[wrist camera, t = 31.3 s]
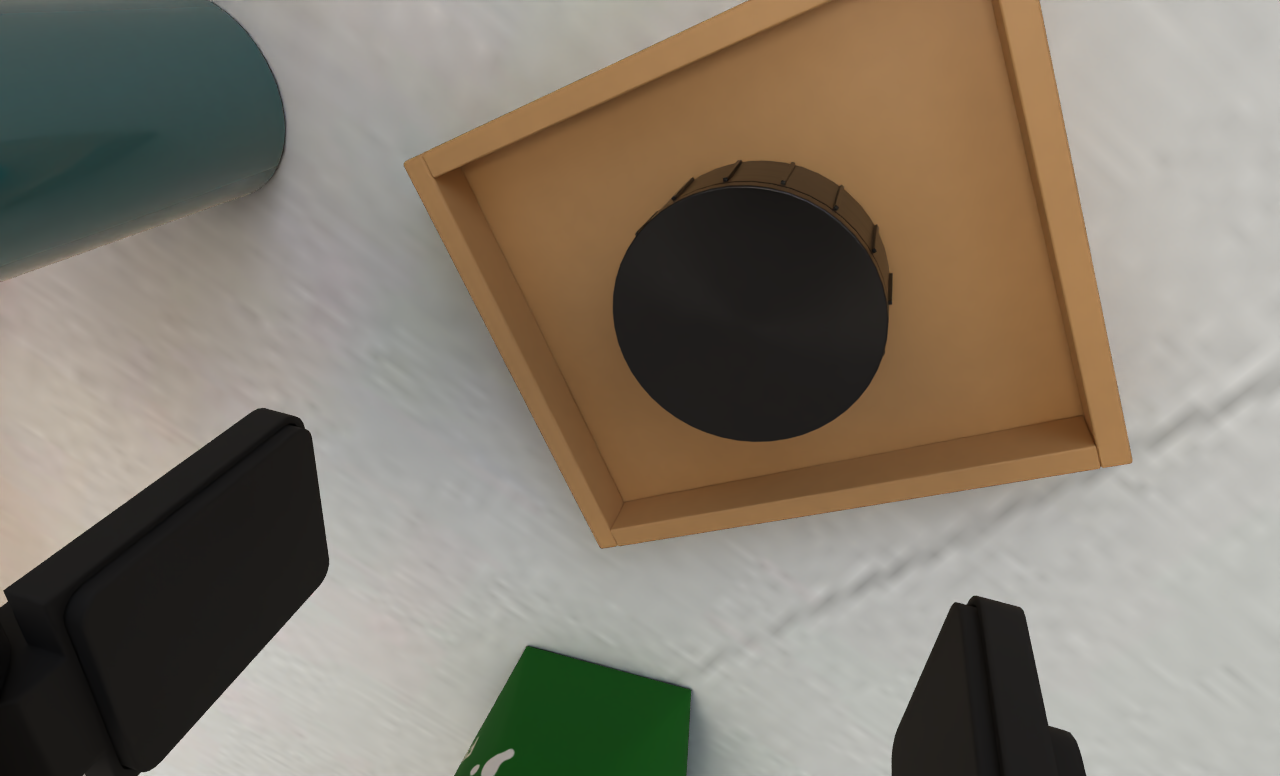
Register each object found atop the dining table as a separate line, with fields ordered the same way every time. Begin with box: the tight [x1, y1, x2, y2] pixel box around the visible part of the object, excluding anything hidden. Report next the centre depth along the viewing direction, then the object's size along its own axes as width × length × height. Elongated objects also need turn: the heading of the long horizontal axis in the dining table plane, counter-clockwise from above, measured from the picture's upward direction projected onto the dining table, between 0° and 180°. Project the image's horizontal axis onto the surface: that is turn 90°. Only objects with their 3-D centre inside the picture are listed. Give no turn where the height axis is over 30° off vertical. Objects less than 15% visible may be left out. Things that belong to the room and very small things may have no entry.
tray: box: [404, 0, 1132, 548], centre depth 21 cm, size 15×13×2 cm
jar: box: [0, 0, 285, 282], centre depth 19 cm, size 6×6×12 cm
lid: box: [613, 160, 893, 442], centre depth 20 cm, size 7×7×3 cm
